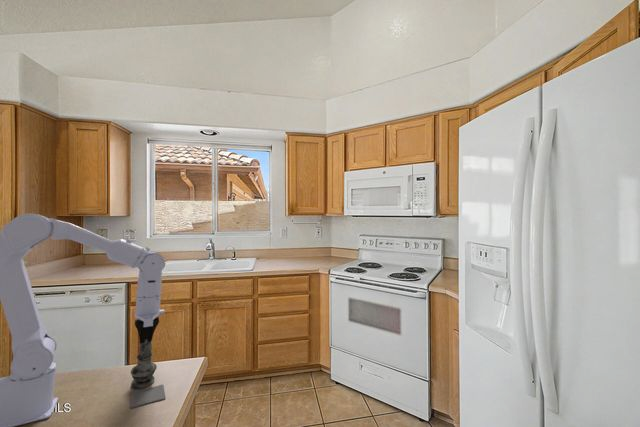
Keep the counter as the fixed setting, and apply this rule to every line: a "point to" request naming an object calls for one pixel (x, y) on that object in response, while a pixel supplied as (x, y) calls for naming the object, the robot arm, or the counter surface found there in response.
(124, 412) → the counter surface
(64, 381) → the counter surface
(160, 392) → the charcoal mat
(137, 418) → the counter surface
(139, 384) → the dark grey chess piece
